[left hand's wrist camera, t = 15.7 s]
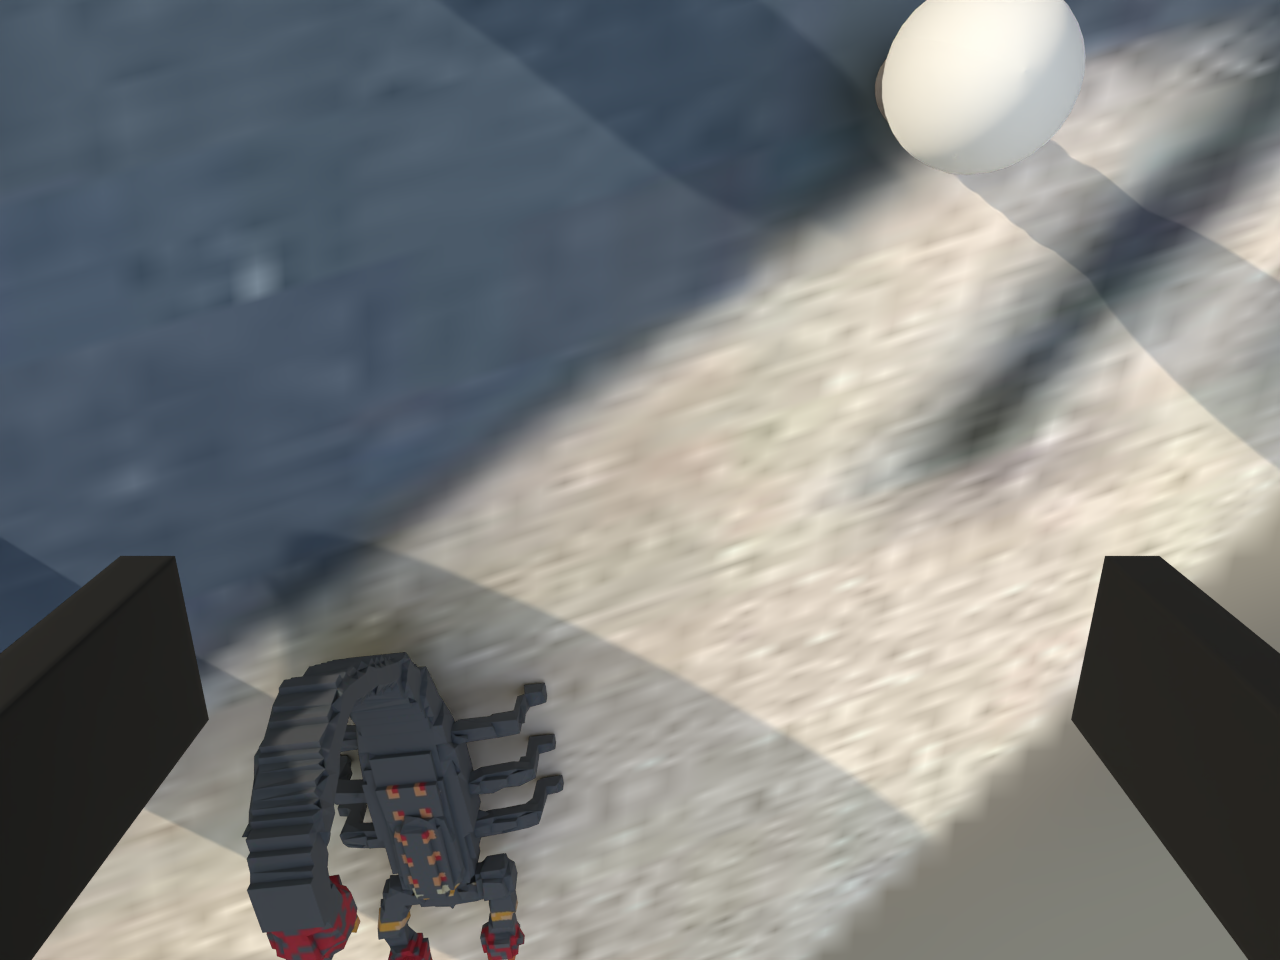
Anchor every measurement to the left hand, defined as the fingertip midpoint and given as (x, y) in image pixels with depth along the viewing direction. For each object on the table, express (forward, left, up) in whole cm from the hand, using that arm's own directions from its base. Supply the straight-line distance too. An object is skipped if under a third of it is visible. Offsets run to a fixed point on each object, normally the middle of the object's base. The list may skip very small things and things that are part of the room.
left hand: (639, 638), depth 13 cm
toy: (-19, -24, -32) cm, 44 cm away
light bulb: (+14, +5, -32) cm, 35 cm away
